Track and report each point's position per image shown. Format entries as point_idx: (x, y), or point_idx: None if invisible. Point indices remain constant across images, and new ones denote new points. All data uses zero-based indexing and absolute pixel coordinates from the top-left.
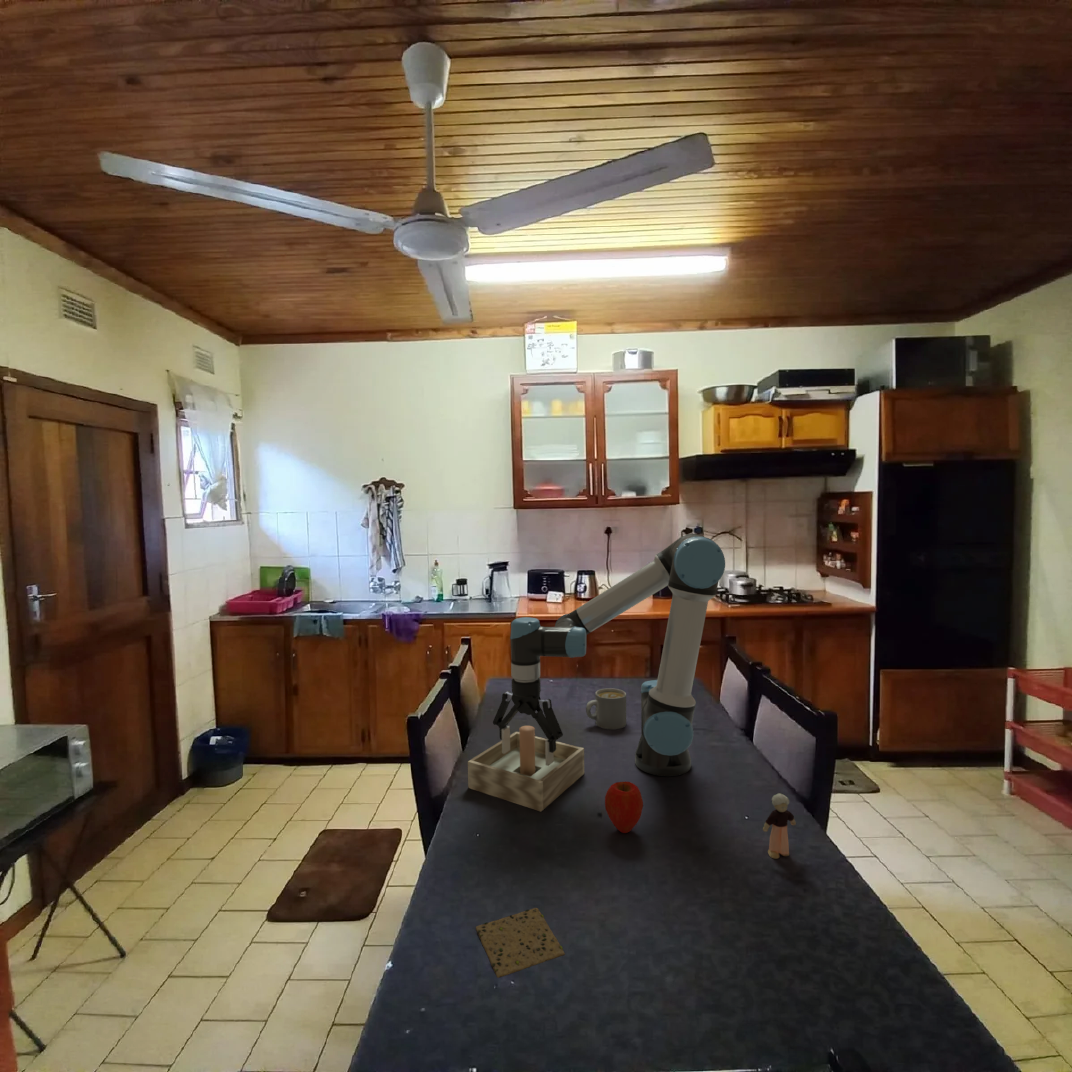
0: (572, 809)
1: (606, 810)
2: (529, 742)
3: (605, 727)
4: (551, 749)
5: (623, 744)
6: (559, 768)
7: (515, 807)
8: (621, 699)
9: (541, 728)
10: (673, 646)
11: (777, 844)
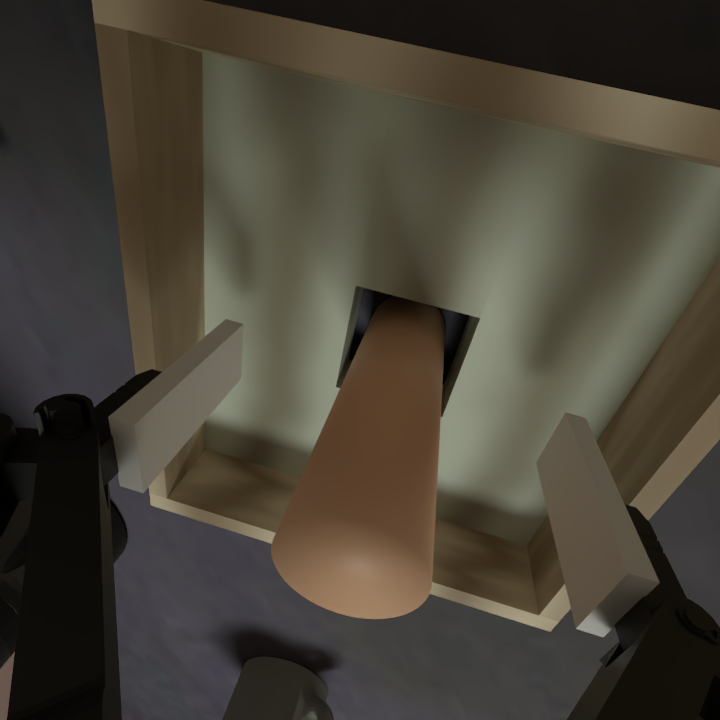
0: (104, 126)
1: None
2: (327, 437)
3: (284, 664)
4: (145, 384)
5: (199, 591)
6: (126, 281)
7: (371, 14)
8: None
9: (95, 529)
10: None
11: None
